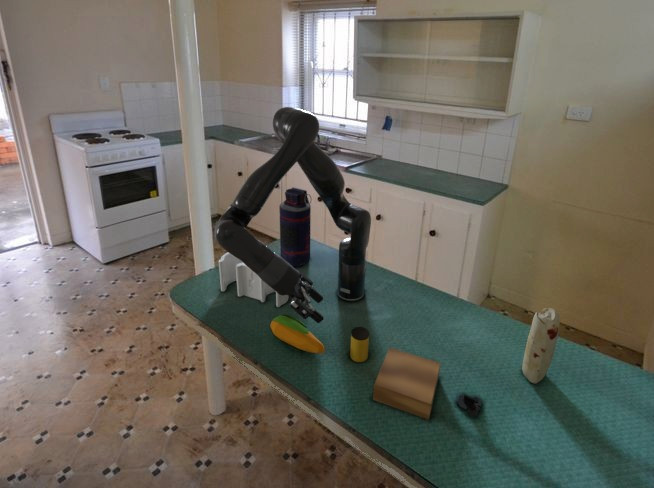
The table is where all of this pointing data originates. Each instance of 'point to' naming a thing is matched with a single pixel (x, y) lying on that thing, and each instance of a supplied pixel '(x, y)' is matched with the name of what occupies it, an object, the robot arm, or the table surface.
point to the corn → (295, 334)
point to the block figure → (469, 404)
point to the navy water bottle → (295, 227)
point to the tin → (359, 344)
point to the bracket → (245, 280)
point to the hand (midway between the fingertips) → (321, 310)
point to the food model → (541, 344)
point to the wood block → (407, 382)
